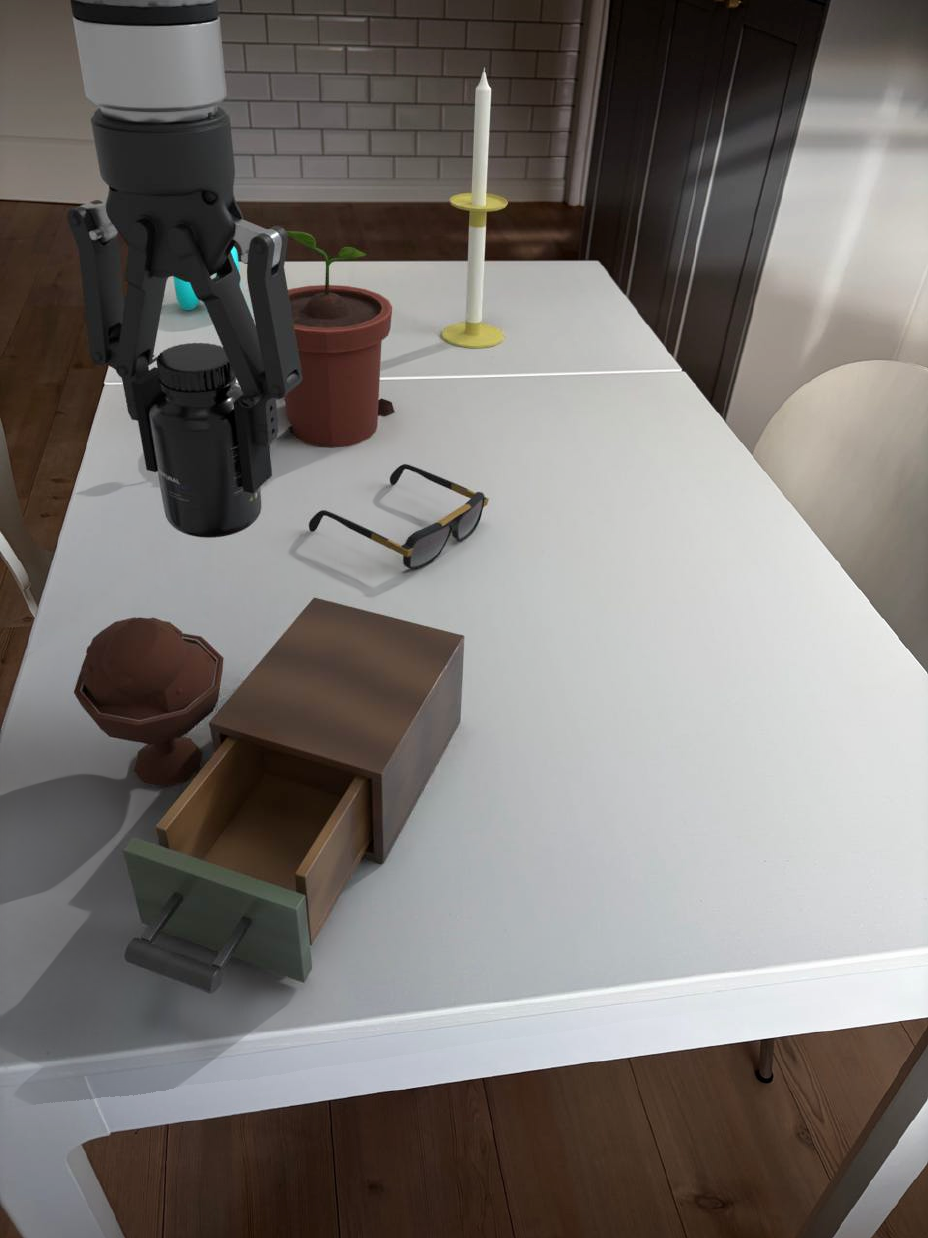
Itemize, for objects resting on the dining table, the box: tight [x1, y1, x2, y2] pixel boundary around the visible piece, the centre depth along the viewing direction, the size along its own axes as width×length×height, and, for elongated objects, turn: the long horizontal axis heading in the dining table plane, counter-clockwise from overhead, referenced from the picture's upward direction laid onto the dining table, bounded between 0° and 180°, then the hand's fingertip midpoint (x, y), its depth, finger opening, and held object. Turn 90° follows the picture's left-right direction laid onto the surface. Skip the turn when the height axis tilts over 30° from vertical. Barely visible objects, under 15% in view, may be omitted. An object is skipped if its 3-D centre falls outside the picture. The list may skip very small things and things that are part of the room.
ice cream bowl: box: [73, 616, 225, 788], centre depth 76 cm, size 11×11×15 cm
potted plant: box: [283, 230, 395, 448], centre depth 124 cm, size 18×22×25 cm
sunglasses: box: [308, 463, 490, 571], centre depth 109 cm, size 14×15×5 cm
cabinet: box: [208, 596, 465, 865], centre depth 79 cm, size 17×14×10 cm
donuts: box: [172, 246, 242, 311], centre depth 159 cm, size 10×10×10 cm
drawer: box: [122, 736, 373, 995], centre depth 68 cm, size 21×12×8 cm, turn 160°
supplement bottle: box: [149, 342, 262, 539], centre depth 67 cm, size 7×7×12 cm
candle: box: [440, 67, 509, 349], centre depth 145 cm, size 10×10×38 cm
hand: (209, 472), depth 69 cm, fingers closed on supplement bottle, 7 cm apart
